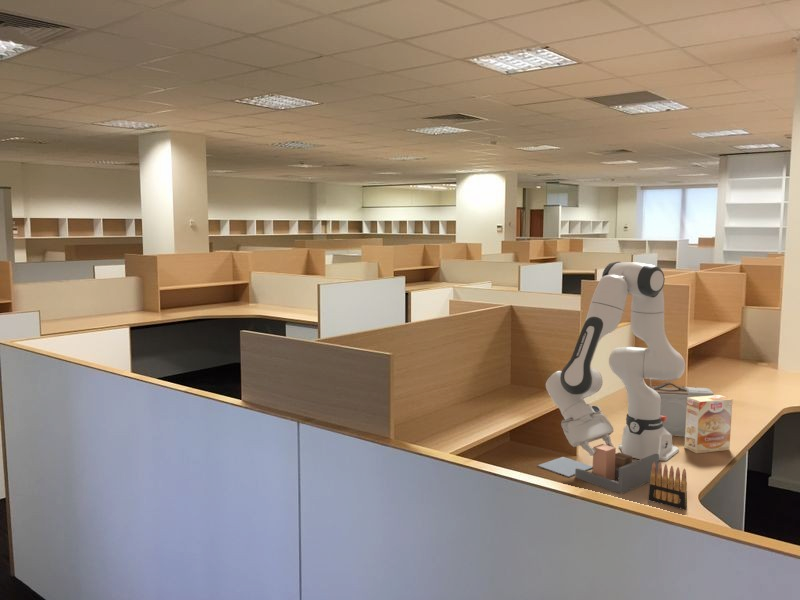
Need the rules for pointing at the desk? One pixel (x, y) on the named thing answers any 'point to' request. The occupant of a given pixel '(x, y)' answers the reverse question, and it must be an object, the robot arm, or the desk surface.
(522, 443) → the desk surface
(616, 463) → the walnut block
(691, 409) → the coffeecake box
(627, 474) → the lane rack
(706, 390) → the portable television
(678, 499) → the ammunition clip
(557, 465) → the slate mat
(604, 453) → the terracotta block
